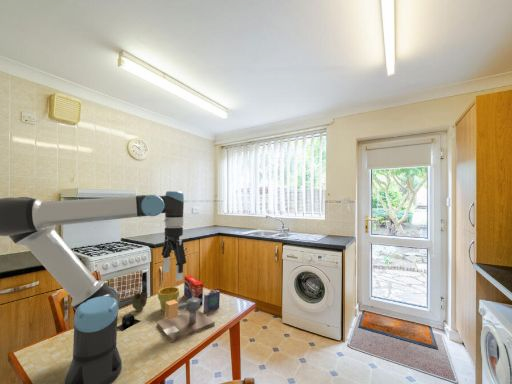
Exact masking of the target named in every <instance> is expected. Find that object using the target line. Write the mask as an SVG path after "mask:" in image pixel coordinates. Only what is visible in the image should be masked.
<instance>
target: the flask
mask: <svg viewBox="0 0 512 384" xmlns="http://www.w3.org/2000/svg"><path fill="white" fill-rule="evenodd" d="M220 293H221V291H220V290H218V289H216V290H214V289H213V288H210V291H209V292H206V293H203V294H204V295H203V312H204V314H205V313H209V312H213V311H214V310H218V309H220V296H221V295H220Z"/></svg>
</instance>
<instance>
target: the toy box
mask: <svg viewBox="0 0 512 384" xmlns="http://www.w3.org/2000/svg"><path fill="white" fill-rule="evenodd" d="M183 280H184V282H183V285H184V286H183V296H184V297H185V298H186V300H188V299H190V298H199V299H200V305H201V306H204V295H203V294H204V283H203V282H202V281H200V280H199V279H197V278H195V276H192V275H191V274H188V275H185V276H183Z"/></svg>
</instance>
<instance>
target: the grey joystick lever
mask: <svg viewBox="0 0 512 384" xmlns="http://www.w3.org/2000/svg"><path fill="white" fill-rule="evenodd" d="M185 301H186V302H182V303H179V302H178V300H177V301H176V300H171V301H168V302H165V312H164V316H165V319H168V320H170V319H173V318H176V317H178V315H179V311H180V310H184V309H185V310H186V312H189V311H196V310H200V307H201V306H200V299H199V298H190V299H186V300H185Z"/></svg>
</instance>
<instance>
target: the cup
mask: <svg viewBox="0 0 512 384" xmlns="http://www.w3.org/2000/svg"><path fill="white" fill-rule="evenodd" d="M148 295H149V294H148V293H146V292H137V293H134V295H131V304H132V305H131V306H132V308H133V309H134V311H135V312H136V313H140V312H142V311H143V310H144V307H146V305H147V300H148Z"/></svg>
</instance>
